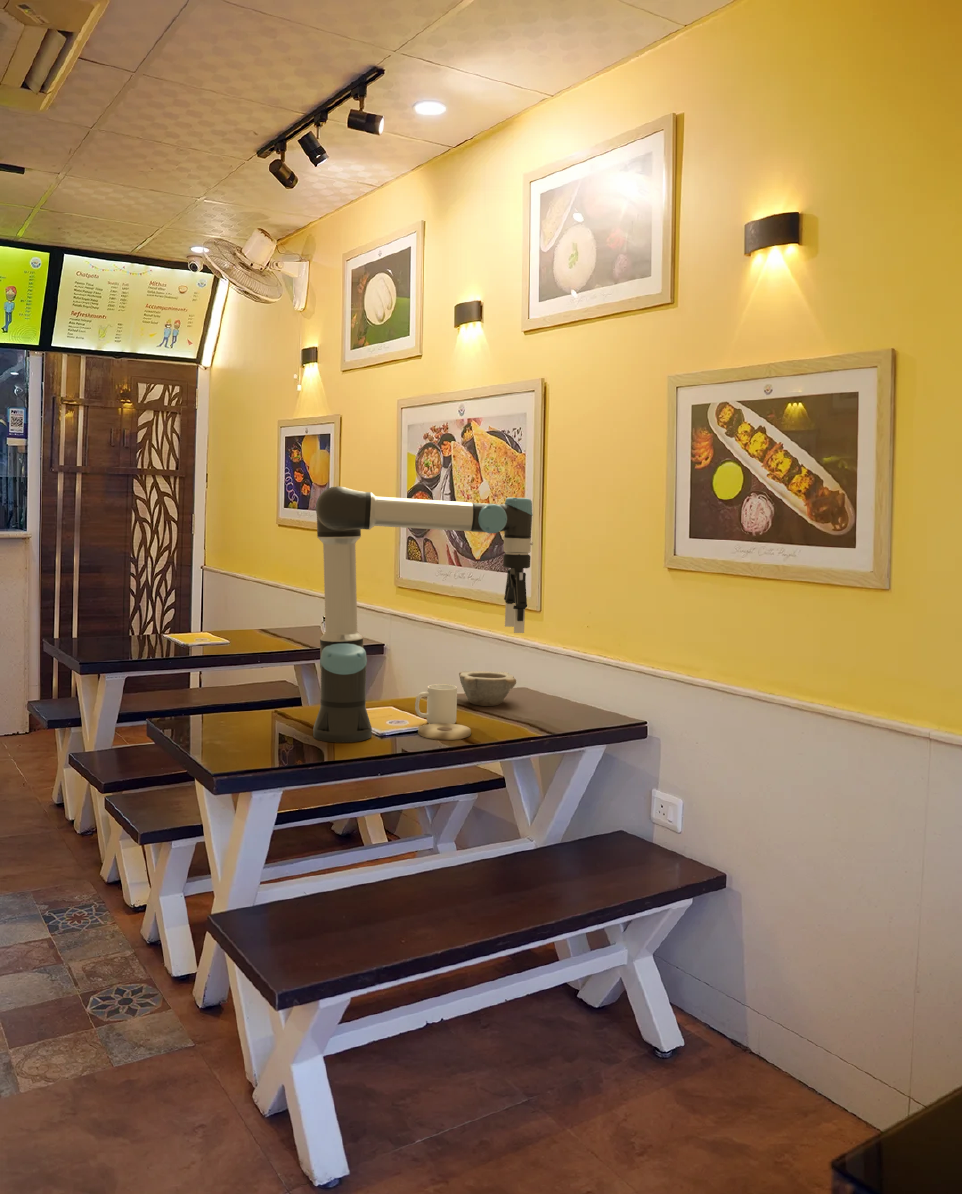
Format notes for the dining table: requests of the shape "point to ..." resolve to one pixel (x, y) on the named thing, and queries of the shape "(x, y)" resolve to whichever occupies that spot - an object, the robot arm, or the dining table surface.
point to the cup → (439, 704)
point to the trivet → (444, 731)
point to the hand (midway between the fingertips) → (514, 629)
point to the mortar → (486, 686)
